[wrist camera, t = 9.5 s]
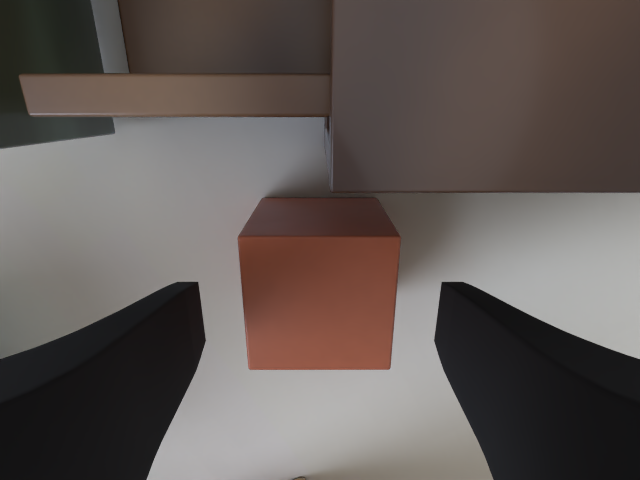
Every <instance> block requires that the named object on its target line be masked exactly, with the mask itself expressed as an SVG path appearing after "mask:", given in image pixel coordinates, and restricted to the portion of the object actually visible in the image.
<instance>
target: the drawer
mask: <svg viewBox="0 0 640 480" xmlns="http://www.w3.org/2000/svg"><path fill="white" fill-rule="evenodd" d="M118 6H119V12H120V18H121V24H122V30H123V36H124V42H125V49H126V55H127V61H128V67H129V73H104V70H103V65H102V59H101V54H100V49H99V43H98V38H97V32H96V27H95V22H94V16H93V11H92V6H91V0H0V149H4V148H11V147H19V146H26V145H34V144H41V143H49V142H56V141H64V140H71V139H79V138H87V137H94V136H102V135H109V134H114V133H115V129H114V123H113V118H112V117H330V28H331V0H118Z"/></svg>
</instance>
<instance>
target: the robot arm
mask: <svg viewBox="0 0 640 480" xmlns="http://www.w3.org/2000/svg"><path fill="white" fill-rule="evenodd" d="M205 341H206V339H205V331H204V324H203V316H202V308H201V300H200V292H199V285H198V282H176V283H173V284H171V285H169V286H166V287H164V288H162V289H160V290H158V291H156V292H154V293H152V294H150V295H149V296H147V297H145V298H143V299H141V300H139V301H137V302H135V303H133V304H131V305H129V306H127V307H126V308H124V309H122V310H120V311H118V312H116V313H114V314H111V315H109V316H107V317H105V318H103V319H101V320H99V321H97V322H95V323H93V324H91V325H89V326H87V327H84V328H82V329H80V330H78V331H75V332H73V333H71V334H68V335H66V336H64V337H61V338H59V339H56V340H53V341H51V342H48V343H46V344H43V345H41V346H38V347H35V348H33V349H30V350H27V351H24V352H21V353H18V354H15V355H12V356H9V357H6V358H3V359H0V480H146V479H147V477H148V474H149V471H150V469H151V466H152V463H153V460H154V458H155V456H156V453H157V451H158V449H159V446H160V444H161V442H162V440H163V438H164V436H165V434H166V432H167V430H168V427H169V425H170V423H171V421H172V419H173V417H174V415H175V413H176V411H177V409H178V407H179V405H180V403H181V401H182V399H183V397H184V395H185V393H186V391H187V389H188V387H189V385H190V382H191V380H192V378H193V376H194V374H195V372H196V369H197V367H198V364H199V361H200V358H201V355H202V351H203V348H204V345H205ZM434 341H435V345H436V348H437V351H438V355H439V358H440V361H441V364H442V367H443V369H444V372H445V374H446V376H447V378H448V380H449V382H450V385H451V387H452V389H453V391H454V393H455V395H456V397H457V399H458V401H459V403H460V405H461V407H462V409H463V411H464V413H465V415H466V417H467V419H468V421H469V423H470V425H471V427H472V430H473V432H474V434H475V436H476V438H477V440H478V442H479V444H480V446H481V449H482V451H483V453H484V456H485V458H486V460H487V463H488V466H489V469H490V471H491V474H492V477H493V479H494V480H640V359H637V358H634V357H631V356H628V355H625V354H622V353H619V352H616V351H613V350H611V349H608V348H605V347H603V346H600V345H597V344H595V343H592V342H590V341H587V340H584V339H582V338H579V337H577V336H574V335H572V334H570V333H567V332H565V331H563V330H560V329H558V328H556V327H554V326H552V325H550V324H547V323H545V322H543V321H541V320H539V319H537V318H535V317H533V316H531V315H529V314H526V313H524V312H523V311H521V310H519V309H517V308H515V307H513V306H511V305H509V304H507V303H505V302H503V301H501V300H499V299H497V298H496V297H494V296H492V295H490V294H488V293H486V292H484V291H482V290H480V289H478V288H476V287H474V286H472V285H469V284H467V283H464V282H442V285H441V292H440V300H439V308H438V316H437V324H436V331H435V339H434Z"/></svg>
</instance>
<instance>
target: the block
mask: <svg viewBox="0 0 640 480" xmlns="http://www.w3.org/2000/svg"><path fill="white" fill-rule="evenodd" d="M400 244H401V237H400V235H399V233H398V232H397V230H396V228H395V227H394V225H393V224H392V222H391V220H390V219H389V217H388V215H387V214H386V212H385V211H384V209H383V207H382V206H381V204H380V203H379V201H378V199H377V198H262V199H261V201H260V202H259V204H258V206H257V207H256V209H255V210H254V212H253V214H252V215H251V217H250V218H249V220H248V222H247V223H246V225H245V226H244V228H243V230H242V231H241V233H240V234H239V236H238V248H239V260H240V272H241V284H242V296H243V308H244V320H245V332H246V344H247V356H248V367H249V369H250V370H388V369H390V366H391V354H392V342H393V330H394V317H395V305H396V293H397V281H398V269H399V256H400Z"/></svg>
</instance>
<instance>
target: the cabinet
mask: <svg viewBox="0 0 640 480" xmlns="http://www.w3.org/2000/svg"><path fill="white" fill-rule="evenodd" d="M325 153H326V160H327V168H328V176H329V185H330V191H331V192H332V193H640V0H331V28H330V117H325Z"/></svg>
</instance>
